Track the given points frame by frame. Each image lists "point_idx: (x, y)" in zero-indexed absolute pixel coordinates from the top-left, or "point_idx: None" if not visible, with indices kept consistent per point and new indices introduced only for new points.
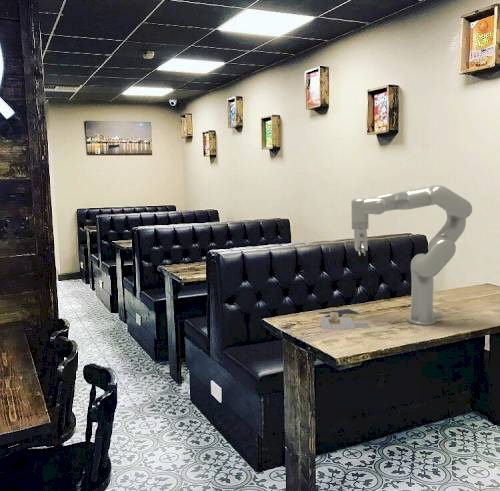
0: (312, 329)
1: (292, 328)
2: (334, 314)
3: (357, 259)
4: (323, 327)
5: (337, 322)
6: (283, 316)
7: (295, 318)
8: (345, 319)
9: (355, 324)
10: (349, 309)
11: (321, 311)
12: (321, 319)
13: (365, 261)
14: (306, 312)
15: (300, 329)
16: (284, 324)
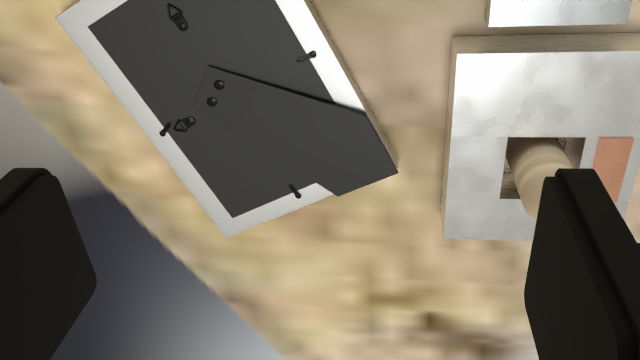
0: None
1: (507, 327)
2: None
3: (71, 284)
4: None
5: (604, 155)
6: (282, 349)
7: (315, 307)
8: (518, 96)
9: (537, 16)
10: (100, 21)
11: (198, 198)
12: (500, 234)
13: (614, 209)
14: (182, 257)
15: None
16: (431, 352)
